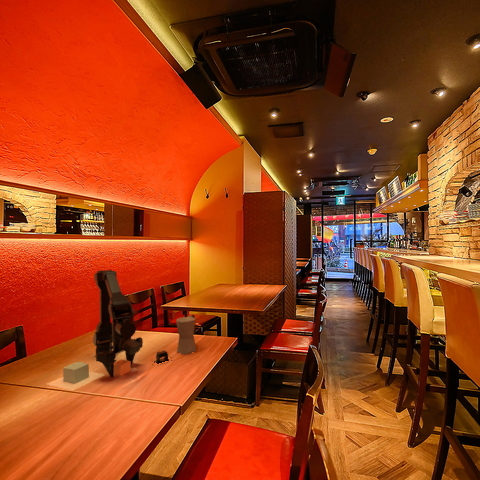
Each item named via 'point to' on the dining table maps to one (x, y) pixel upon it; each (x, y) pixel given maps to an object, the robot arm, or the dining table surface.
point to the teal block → (75, 372)
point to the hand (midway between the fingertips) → (121, 372)
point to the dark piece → (160, 355)
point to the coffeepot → (186, 334)
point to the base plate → (71, 386)
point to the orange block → (122, 367)
